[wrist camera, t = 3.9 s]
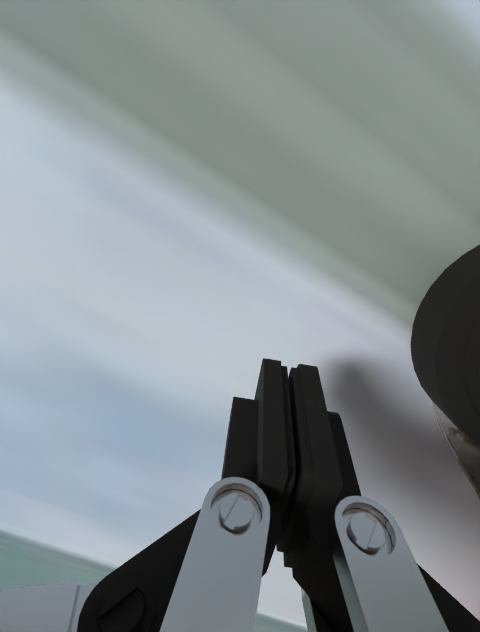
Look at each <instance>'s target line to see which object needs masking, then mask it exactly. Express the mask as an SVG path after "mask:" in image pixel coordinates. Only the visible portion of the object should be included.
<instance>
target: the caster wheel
mask: <svg viewBox="0 0 480 632" xmlns="http://www.w3.org/2000/svg"><path fill="white" fill-rule="evenodd" d="M411 355H412V361H413V365H414V370H415V372H416V374H417V377H418V379H419V381H420V384H421V386H422V388H423V389H424V390H425V392H426V393H427V394H428V396H429V397H430V398H431V400H432V401H433V405H434V409H435V413H436V416H437V419H438V422H439V424H440V427H441V429H442V432H443V434H444V436H445V438H446V440H447V442H448V444H449V446H450V448H451V450H452V451H453V453H454V455H455V457H456V459H457V460H458V462H459V464H460V465H461V467H462V469H463V470H464V472H465V474H466V475H467V477H468V479H469V481H470V482H471V484H472V486H473V488H474V489H475V491H476V493H477V495H478V497H479V499H480V245H478V246H477V247H475V248H474V249H472V250H470V251H469V252H467V253H465V254H464V255H462V256H461V257H460V258H459V259H457V260H456V261H455V262H454V263H453V264H451V265H450V266H449V267H448V268H446V269H445V270H444V272H443V273H442V274H441V275H440V276H439V277H438V279H437V280H436V281H435V282H434V283H433V284H432V286H431V287H430V288H429V290H428V292H427V293H426V295H425V297H424V299H423V300H422V302H421V304H420V306H419V309H418V311H417V313H416V317H415V320H414V324H413V330H412V338H411Z"/></svg>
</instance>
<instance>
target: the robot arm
mask: <svg viewBox="0 0 480 632" xmlns="http://www.w3.org/2000/svg"><path fill="white" fill-rule="evenodd" d="M275 546H276V547H277V551H279V552H284V567H290V568H292V572H293V578H294V579H295V580H296V581H297V583H298V584H299V585H300V586H301V592H302V602H303V607H304V612H305V617H306V623H307V628H308V632H480V621H479V620H478V619H477V618H475V617H474V616H473V615H472V614H471V613H470V612H469V611H468V610H467V609H466V608H465V607H464V606H462V605H461V604H460V603H459V602H458V601H457V600H456V599H455V598H454V597H453V596H452V595H451V594H449V593H448V592H447V591H446V590H445V589H444V588H443V587H442V586H441V585H440V584H439V583H438V582H436V581H435V580H434V579H433V578H432V577H431V576H430V575H429V574H428V573H427V572H426V571H425V570H423V569H422V568H421V567H420V566H419V565H418V564H417V563H416V561H415V559H414V557H413V555H412V553H411V551H410V549H409V546H408V544H407V542H406V540H405V538H404V536H403V534H402V532H401V530H400V528H399V526H398V524H397V523H396V521H395V519H394V518H393V517H392V516H391V514H390V513H389V512H388V511H387V510H386V509H385V508H384V507H382V506H381V505H379V504H378V503H377V502H375V501H373V500H371V499H368V498H366V497H362V496H361V493H360V489H359V485H358V481H357V477H356V474H355V470H354V466H353V462H352V459H351V455H350V451H349V447H348V444H347V440H346V436H345V432H344V428H343V425H342V421H341V418H340V415H339V414H338V413H335V412H329V411H327V408H326V404H325V399H324V395H323V390H322V386H321V381H320V377H319V372H318V368H317V367H316V366H310V365H303V364H298V366H297V368H291V370H290V374H289V377H288V372H287V367H286V366H281V361H277V360H271V359H264V358H263V361H262V365H261V370H260V375H259V380H258V385H257V389H256V394H255V399H254V400H252V399H245V398H239V397H233V403H232V409H231V415H230V421H229V428H228V434H227V442H226V449H225V456H224V464H223V471H222V478H221V480H220V481H218V482H216V483H215V484H214V485H213V486H212V487H211V488H210V489H209V491H208V493H207V495H206V497H205V499H204V502H203V505H202V508H201V509H200V510H199V511H197V512H196V513H195V514H193V515H192V516H190V517H189V518H188V519H186V520H185V521H183V522H182V523H180V524H179V525H178V526H176V527H175V528H173V529H172V530H171V531H169V532H168V533H166V534H165V535H164V536H162V537H161V538H159V539H158V540H157V541H155V542H154V543H152V544H151V545H150V546H148V547H147V548H145V549H144V550H143V551H141V552H140V553H138V554H137V555H135V556H134V557H133V558H131V559H130V560H128V561H127V562H126V563H124V564H123V565H121V566H120V567H119V568H117V569H116V570H114V571H113V572H112V573H110V574H109V575H107V576H106V577H105V578H104V579H103V580H102V581H100V582H96V583H88V584H80V585H79V581H78V580H77V581H69V582H61V583H53V584H45V585H37V586H29V587H20V588H12V589H4V590H0V632H254V626H255V619H256V612H257V605H258V598H259V591H260V584H261V577H262V576H263V575H264V574H265V573H266V572H267V569H268V566H269V563H270V560H271V557H272V554H273V552H274V549H275Z"/></svg>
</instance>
